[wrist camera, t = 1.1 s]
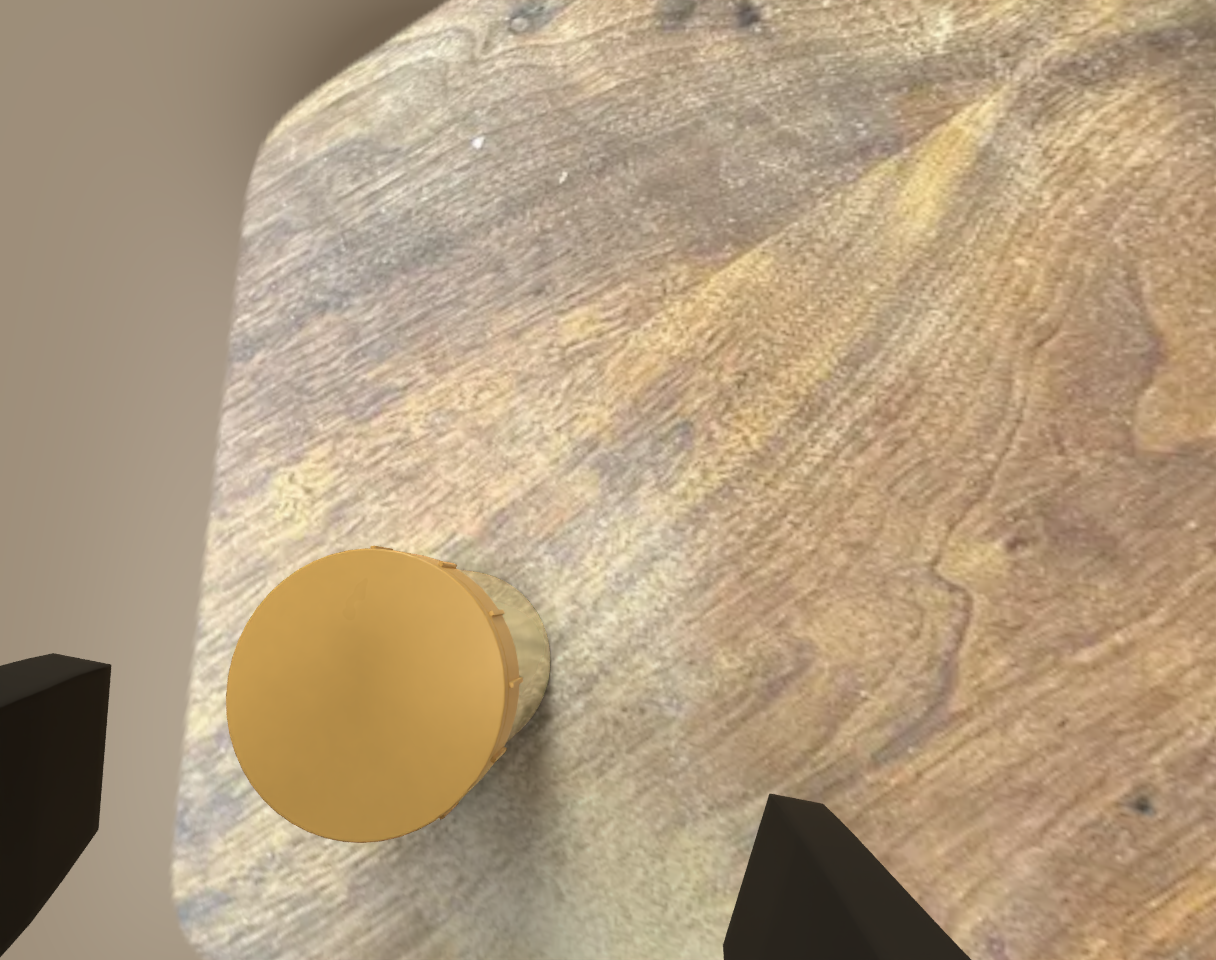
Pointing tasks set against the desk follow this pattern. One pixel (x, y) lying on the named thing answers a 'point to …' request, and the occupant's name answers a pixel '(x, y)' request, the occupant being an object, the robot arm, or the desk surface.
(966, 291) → the desk surface
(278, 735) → the lid
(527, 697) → the jar
